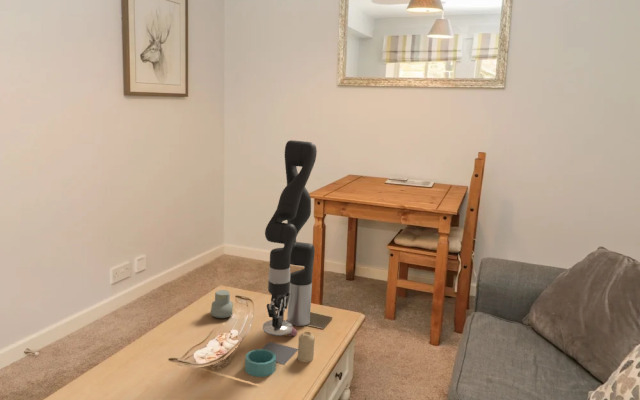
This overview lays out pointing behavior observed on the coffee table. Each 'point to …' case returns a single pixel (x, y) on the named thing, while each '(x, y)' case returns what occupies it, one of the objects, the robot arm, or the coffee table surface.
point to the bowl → (260, 362)
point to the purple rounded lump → (292, 332)
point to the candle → (306, 347)
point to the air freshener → (222, 304)
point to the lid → (280, 330)
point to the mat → (281, 352)
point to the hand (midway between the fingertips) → (277, 324)
